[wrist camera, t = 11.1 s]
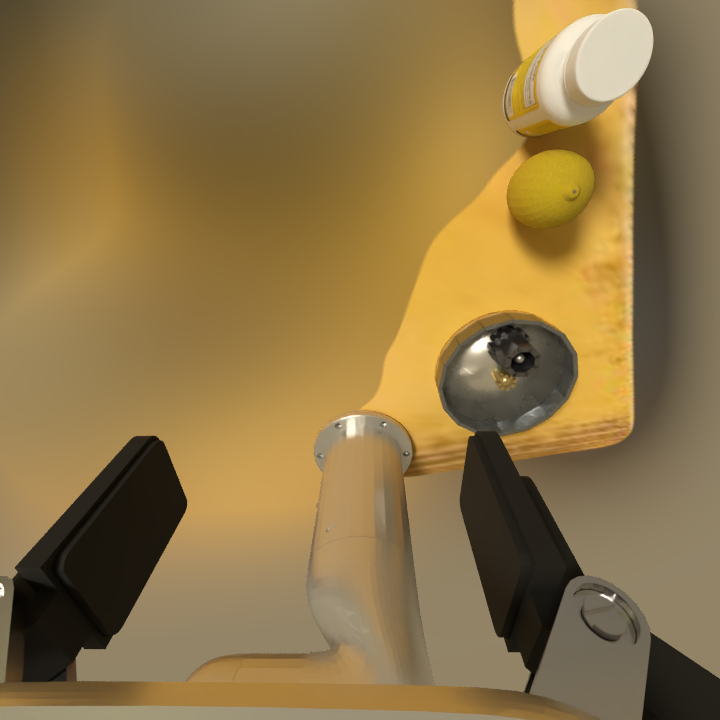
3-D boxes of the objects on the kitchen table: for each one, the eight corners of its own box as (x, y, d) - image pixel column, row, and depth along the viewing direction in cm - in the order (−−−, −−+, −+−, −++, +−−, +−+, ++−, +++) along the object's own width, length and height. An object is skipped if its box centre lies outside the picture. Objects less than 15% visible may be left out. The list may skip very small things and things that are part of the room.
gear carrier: (508, 435, 43) (524, 465, 39) (411, 392, 40) (417, 418, 36) (592, 345, 37) (622, 368, 33) (484, 287, 34) (502, 302, 30)
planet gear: (523, 360, 37) (540, 380, 33) (484, 361, 37) (497, 381, 33) (530, 324, 35) (549, 341, 31) (489, 326, 35) (503, 343, 31)
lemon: (571, 166, 29) (636, 161, 22) (536, 231, 32) (585, 245, 25) (513, 142, 29) (562, 130, 21) (482, 211, 31) (517, 220, 24)
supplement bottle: (584, 97, 27) (685, 58, 18) (524, 153, 29) (591, 142, 20) (547, 33, 25) (641, -43, 17) (486, 97, 27) (542, 59, 19)
